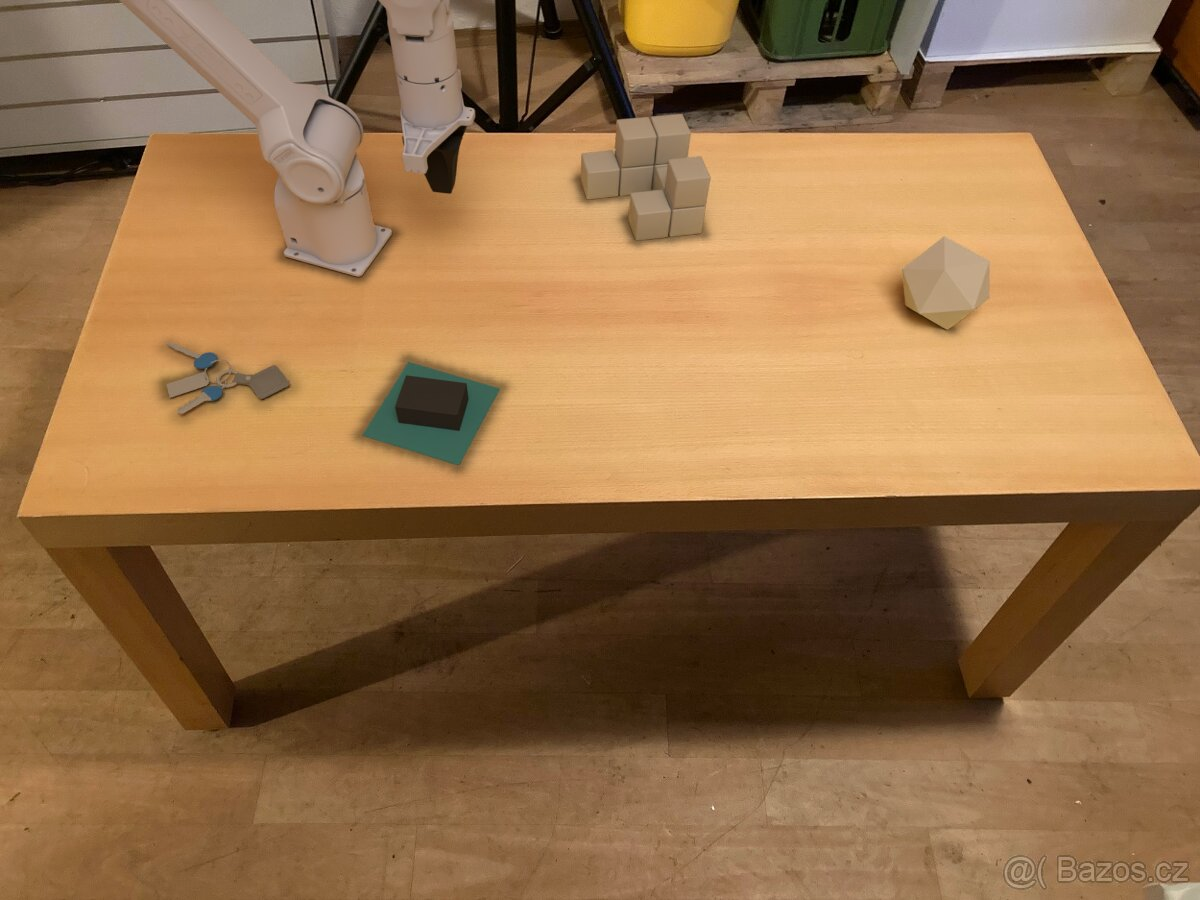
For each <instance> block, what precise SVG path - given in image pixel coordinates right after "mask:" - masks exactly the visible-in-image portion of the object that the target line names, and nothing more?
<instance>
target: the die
mask: <svg viewBox="0 0 1200 900" xmlns="http://www.w3.org/2000/svg"><path fill="white" fill-rule="evenodd" d="M990 262H991V261H990V260H989V259H988V258H986V257H984V256H982V255H981V254H979V253H977V252H975V251H973V250H971V249H970V248H968V247H965V246H964V245H962V244H961V243H959V242H956V241H955V240H953V239H951V238H949V237H947V236H945V235H944V236H942V237H941V238H940V239H938V240H937V241H936V242H934V243H933V244H932V245H931V246H929V247H928V248H927V249H926V250H924V251H923V252H922V253H920V254H919V255H918V256H916V257H915V258H914V259H913V260H911V261H910V262H909V263H907V264H906V265H905V266H904V267H902V268H901V272H902V285H903V296H904V305H905V306H906V307H907V308H909V309H910V310H912V311H914V312H915V313H916V314H919V315H920V316H922V317H924V318H926V319H928V320H929V321H931V322H933V323H934V324H936V325H938V326H939V327H940V328H943V329H945V331H946V330H947V331H949V329H951V328H952V327H954V326H956V324H958V323H960V321H961V320H963V319H964V318H966V317H967V316H969V315H970V314H971V313H973V312H974V311H975V310H977V309H978V308H979V307H980V306H982V305H983V304H984V303H985V302H987V301H989V300H990V299H991V297H990V296H991V295H990V290H991V289H990V285H991V284H990V283H991V282H990V281H991V280H990V279H991V278H990V273H991V272H990V271H991V270H990V269H991V267H990V265H991V264H990Z"/></svg>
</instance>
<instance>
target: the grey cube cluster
mask: <svg viewBox="0 0 1200 900" xmlns="http://www.w3.org/2000/svg"><path fill="white" fill-rule="evenodd" d="M615 123H616V124H615V125H616V126H615V141H614V148H615V150H612V149H610V150H601V151H591V152H590V151H589V152H581V154H580V182H581V186H582V189H583V192H584V194H585V198H586V200H596V199H605V198H616V197H618V196H620V197H625V196H629V202H628V203H629V206H628V216H627V217H628V218H627V219H628V223H629V226H630V229H631V232H632V234H633V238H634V240H635V241H636V242H637V241H646V240H647V241H648V240H655V239H663V238H668V237H670V238H674V237H682V236H689V235H698V234H701V233H702V232H703V226H704V221H705V214H706V207H707V206H706V205H707V203H708V196H709V190H710V184H711V177H712V176H711V175H710V173H709V171H708V168H707V165H706V163H705V161H704V159H703V156H701V155H697V156H689V150H690V143H691V136H692V131H691V130H690V128H689V126H688V125H689V124H688V123H687V121H686V119H685V116H684V114H683V113H676V114H675V113H674V114H665V115H656V116H655V115H654V116H651V117H649V116H643V117H633V118H620V119H617V120H616V122H615Z"/></svg>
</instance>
